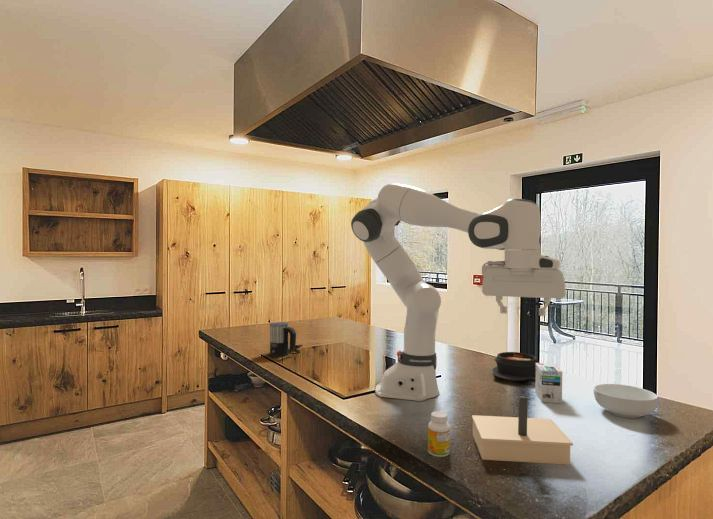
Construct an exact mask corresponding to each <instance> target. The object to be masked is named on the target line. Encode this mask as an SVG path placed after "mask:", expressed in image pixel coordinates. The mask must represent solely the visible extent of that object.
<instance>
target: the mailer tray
mask: <svg viewBox="0 0 713 519" xmlns="http://www.w3.org/2000/svg"><path fill="white" fill-rule="evenodd" d="M472 437H473V440H474V442H475V444H476V448H477V449H478V453H479V455H480V457H481V460H483V461H484V460H485V461H502V462H515V463H516V462H517V463H531V464H532V463H537V464H550V465H551V464H553V465H554V464H555V465H571V446H569V445H550V444H531V443H512V442H493V441H482V440H481V438H480V436H479V433H478V431H477V428H476V426H475V424H474V421H473V420H472Z"/></svg>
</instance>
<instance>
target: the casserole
mask: <svg viewBox="0 0 713 519" xmlns="http://www.w3.org/2000/svg"><path fill="white" fill-rule="evenodd" d="M494 362H496V363H495V364H496V366H494V367H493V368H492V376H494V377H495V378H498V379H503V380H509V381H515V382H516V381H517V382H522V381H529V380H534V379H535V380H536V363H540V361H539V360H538V358H537V356H536V355H533V354H530V353H525V352H517V351H505V352H503V351H502V352H500V353H498V354H497V355H496V357H495V358H494Z"/></svg>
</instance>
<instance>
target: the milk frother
mask: <svg viewBox="0 0 713 519" xmlns="http://www.w3.org/2000/svg"><path fill="white" fill-rule="evenodd" d="M268 325H269V341H270V342H269V355H270V356H273V357H283V356H287V355H289V352H293V351H296V350H298V349H300V348H302V347H303V344H296V341H297V332H296V330H295V329H294V328H293V327H291V326H289V325H290V324H289V322H283V321H282V322H281V321H278V322H277V321H276V322H270V323H269V324H268Z"/></svg>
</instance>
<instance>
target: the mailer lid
mask: <svg viewBox="0 0 713 519" xmlns="http://www.w3.org/2000/svg"><path fill="white" fill-rule="evenodd" d="M528 399H529V398H528V396H524V395H519V396H518V414H517V415H518V416H517V417H516V416H515V417H513V416H499V415H498V416H495V415H478V414H477V415H476V414H475V415H473V414H472V415H471V420H472V422H473V421H474V424H475V426H476V428H477V431H478V433H479V436H480V438H481V440H482V441H493V442H512V443H531V444H550V445H569V446H570V447H571V446H572V447H574V446H573V445H574V443H573V442H572V441H571V439H570V438H569V437H568V436H567V435H566V434H565V433H564V432H563V431H562V430H561V428H560V426H558V425H557V424H556V423H555V422H554V420H553V419H552V418H540V417H539V418H538V417H528V404H529V403H528Z"/></svg>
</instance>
